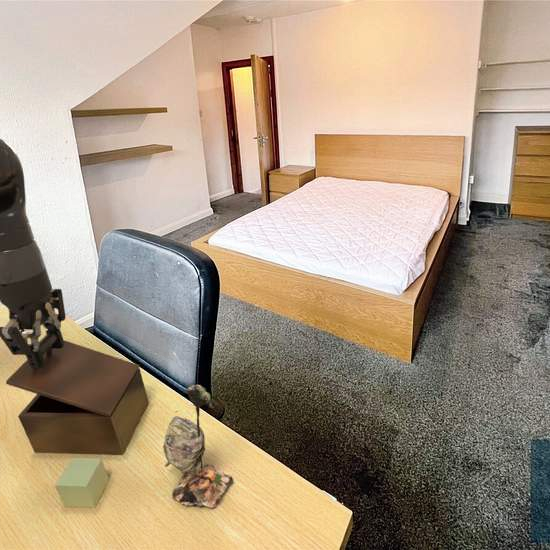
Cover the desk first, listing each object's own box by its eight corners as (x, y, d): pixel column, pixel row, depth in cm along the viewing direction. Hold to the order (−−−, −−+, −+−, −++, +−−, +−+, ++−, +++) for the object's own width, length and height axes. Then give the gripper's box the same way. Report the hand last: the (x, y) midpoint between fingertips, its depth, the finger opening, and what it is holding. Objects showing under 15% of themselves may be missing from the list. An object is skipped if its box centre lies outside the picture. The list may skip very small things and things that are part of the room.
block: (64, 506, 64) (54, 485, 62) (80, 478, 69) (72, 457, 66) (94, 507, 64) (86, 486, 61) (109, 479, 68) (101, 458, 66)
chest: (34, 452, 74) (17, 416, 70) (71, 402, 86) (59, 368, 82) (122, 455, 72) (110, 417, 68) (148, 403, 84) (139, 368, 80)
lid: (5, 384, 67) (7, 359, 65) (50, 338, 79) (53, 316, 76) (109, 417, 68) (114, 394, 66) (139, 368, 80) (144, 347, 77)
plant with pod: (192, 451, 72) (172, 360, 63) (240, 483, 66) (225, 386, 57) (155, 486, 66) (127, 390, 58) (204, 524, 60) (181, 424, 51)
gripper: (24, 252, 72) (52, 333, 79) (-39, 291, 59) (1, 384, 66) (65, 252, 71) (89, 334, 78) (10, 291, 58) (45, 385, 65)
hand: (48, 356), depth 72 cm, fingers closed on lid, 5 cm apart
